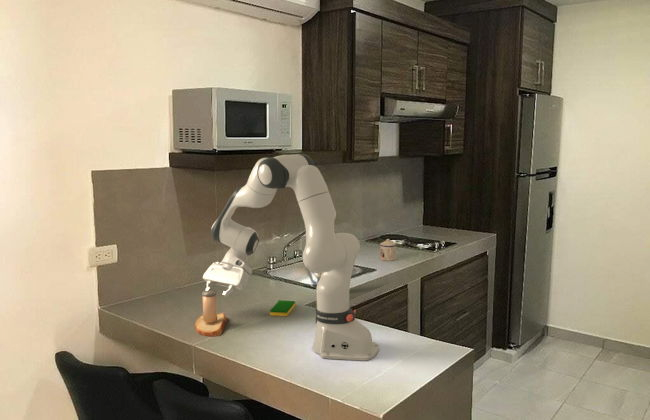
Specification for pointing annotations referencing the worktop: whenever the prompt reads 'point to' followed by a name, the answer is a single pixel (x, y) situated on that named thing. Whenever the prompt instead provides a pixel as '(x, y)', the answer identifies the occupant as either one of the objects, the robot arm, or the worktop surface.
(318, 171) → the robot arm
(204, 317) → the grey-capped jar
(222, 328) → the slice of bread
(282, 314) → the dish sponge
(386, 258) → the teacup with lid
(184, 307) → the worktop surface
